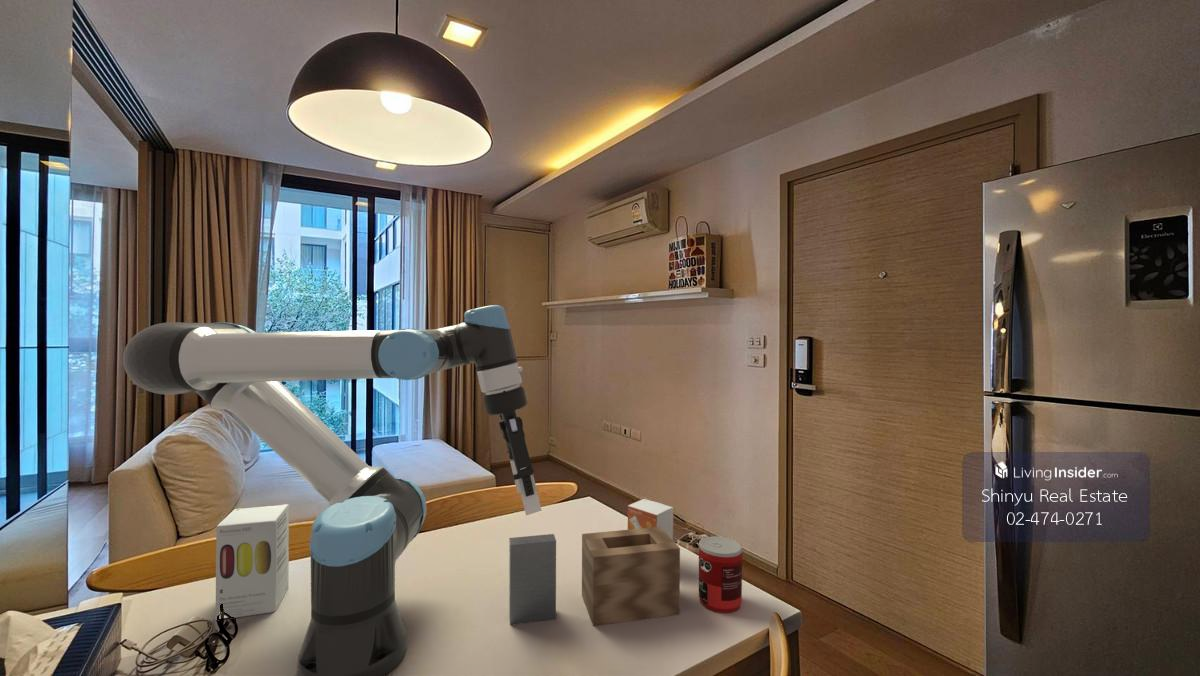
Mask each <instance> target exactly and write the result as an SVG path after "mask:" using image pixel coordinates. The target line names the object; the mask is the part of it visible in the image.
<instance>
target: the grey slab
mask: <svg viewBox="0 0 1200 676" xmlns="http://www.w3.org/2000/svg"><path fill="white" fill-rule="evenodd" d="M508 543H509V547H508V549H509V550H508V551H509V555H508V560H509V561H508V564H509V565H508V569H509V570H508V571H509V572H508V575H509V576H508V577H509V579H508V581H509V583H508V586H509V587H508V592H509V593H508V604H509V605H508V606H509V607H508V609H509V610H508V618H509V626H513V624H515V625H520V624H521V623H523V624H528V623H529V622H530V623H535V622H536V623H537V622H544V621H551V620H557V618H556V617H557V539H556V535H555V534H554V533H551V534H550V533H548V534H540V535H539V534H538V535H530V536H529V535H527V536H525V535H524V536H515V537H509V541H508ZM530 623H529V624H530Z"/></svg>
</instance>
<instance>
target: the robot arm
mask: <svg viewBox="0 0 1200 676" xmlns="http://www.w3.org/2000/svg"><path fill="white" fill-rule="evenodd" d="M463 317H464V320H463V322H461V323H457V324H456V325H449V326H444V327H439V328H436V329H435V328H434V329H418V328H400V329H385V330H377V329H375V330H371V329H370V330H332V331H330V330H329V331H328V330H325V331H322V330H321V331H280V332H278V331H276V332H275V331H274V332H273V331H272V332H256V331H255V330H253V329H251V328H249V327H247V326H244V325H240V324H235V323H232V322H226V321H221V322H220V321H216V322H210V323H209V322H180V321H179V322H178V321H176V322H175V321H174V322H173V321H169V322H162V323H157V324H153V325H150V326H148V327H145V328H143V329H141V330H140V331H139V332H137V333H136V334H134V336H132V338H131V339H130V340H129V341H128V343H127V344H126V346H125V348H124V351H123V356H122V364H123V368H124V370H125V374H126V375H127V376H128V378H129V379H130V380H131V381H132V382H133V383H134V384H135V386H138V387H140V388H141V389H142V390H145V391H147V392H150V393H153V394H159V395H170V396H171V395H181V394H182V395H183V394H189V393H196V394H197V395H198V396H200V397H201V398H202V400H204V402H206V403H207V404H208V405H209V406H211V408H213V409H214V410H229V411H231V412H232V413H233V415H235V416H236V417H237V418H238V419H239V420H240V421H241V422H243V424H244V425H245V426H247V428H249V429H250V430H251V431H252V432H253V433H254V434H255V435H256V436H258V438H260V440H262V441H263V442H264V444H266V445H267V446H268V447H269V448H270V449H271V450H272V451H274V453H275V454H277V455H278V456H279V458H281V459H282V460H283V461H284V462H285V463H286V464H287V465H288V466H289V467H290V468H291V469H292V470H293V471H294V472H296V473H297V474H298V475H299V476H300V477H301V478H302V479H303V480H304V481H305V482H306V483H308V484H309V486H311V487H312V488H313V489H314V490H315V491H316V492H317V493H318V494H319V495H320V496H321V497H322V498H324V500H326V501H327V502H328V504H329V506H328V507H327V508H325V509H324V510H323V511H321V512H320V513H319V514H318V515H317V516H316V518H315V519H314V521H313V523H312V526H311V534H310V539H309V552H310V553H309V554H310V605H311V608H310V609H311V610H310V611H311V612H310V622H309V625H308V627H307V630H306V632H305V636H304V638H303V642H302V644H301V646H300V647H301V648H300V650H299V654H298V657H297V676H386V675H388V674H390V672H391V671H392V670H394V669H395V668H396V667H397V666H399V664H400V663H401V662H402V660H403V658H404V656H405V655H406V652H407V647H408V646H407V643H408V641H407V639H408V638H407V637H408V636H407V635H408V633H407V630H406V629H407V628H406V626H405V623H404V620H403V618H402V615H401V613H400V610H399V607H398V604H397V601H396V590H395V589H396V561H397V560H398V559H399V557H400V556H401V555H402V554H403V553H404V551H405V550H406V548H408V546H409V544H410V543H411V542H412V541H413V540H414V539H415V538H416V537H417V536H418V534H419V532H420V531H421V528H422V526H423V524H424V522H425V519H426V516H427V502H426V501H427V500H426V498H425V495H424V493H423V491H422V490H421V488H420V487H419V486H418V485H417V484H416V483H415V482H413V481H412V480H409V479H407V478H401V477H394V476H393V474H391V473H390V472H389V471H388V470H387V469H386V468H385V467H384V466H381V465H380V466H371V465H368V464H367V462H366V461H364V460H363V459H362V458H361V457H360V456H359V455H358V454H357V453H356V452H355V451H354V450H353V449H352V448H351V447H350V446H348V445H347V444H346V442H344V441H343V440H342V439H341V438H340V437H339V436H338V435H337V434H336V433H335V432H334V431H333V430H331V428H329V427H328V426H327V424H325V422H323V421H322V420H321V419H320V418H319V417H318V416H317V415H316V414H315V413H314V412H312V410H311V409H309V407H307V406H306V405H305V404H304V403H303V402H302V401H301V400H300V399H299V398H298V397H297V396H296V395H295V394H293V393H292V391H291V390H289V388H287V387H286V386H285V385H284V384H283V383H282V382H292V381H293V382H294V381H296V382H297V381H324V380H326V381H327V380H328V381H329V380H330V381H332V380H333V381H334V380H359V379H360V380H363V379H364V380H365V379H367V380H368V379H397V380H400V381H402V380H403V381H411V380H419V379H421V378H424V377H426V376H428V375H431V374H435V373H437V372H441V371H445V370H450V369H453V368H458V367H461V366H465V365H470V364H473V363H474V365H475V368H476V369H475V370H476V374H477V379H478V383H479V387H480V391H481V393H484V394H483V396H482V399H483V403H484V407H485V408H484V409H485V412H486V414H487V415H488V416H497V415H498V416H499V418H500V421H498V424H499V425H498V426H499V429H500V431H501V433H502V437H503V439H504V440H505V445H506V449H507V454H508V458H509V460H510V461H509V462H510V467H511V471H512V475H513V480H514V484H515V489H516V492H517V493H516V494H520V495H521V499H522V503H523V504H522V505H523V508H524V512H525V515H526V516H529V515H532V514H535V513H538V512H541V511H542V507H541V506H542V505H541V503H540V502H541V501H540V497H539V494H538V490H537V489H538V488H537V485H536V481H535V480H536V479H535V477H534V468H533V466H532V461H531V459H530V455H529V450H528V447H527V443H526V435H525V431H524V424H523V420H522V418H521V417H520V416H517V412H516V411H517V410H520V409H523V408H524V407H526V406H527V405H528V400H527V397H526V392H525V388H524V387H523V386H522V385H520V384H522V382H523V380H522V376H521V374H520V373H521V372H523V370H524V369H523V367H522V366H519V363H518V358H517V353H516V349H515V344H514V339H513V335H512V330H511V326H510V324H509V319H508V315H507V313H506V309H505V308H504V306H501V305H499V304H491V305H486V306H480V307H477V308H472V309H469V310H467V311H465V312H464V314H463Z"/></svg>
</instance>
